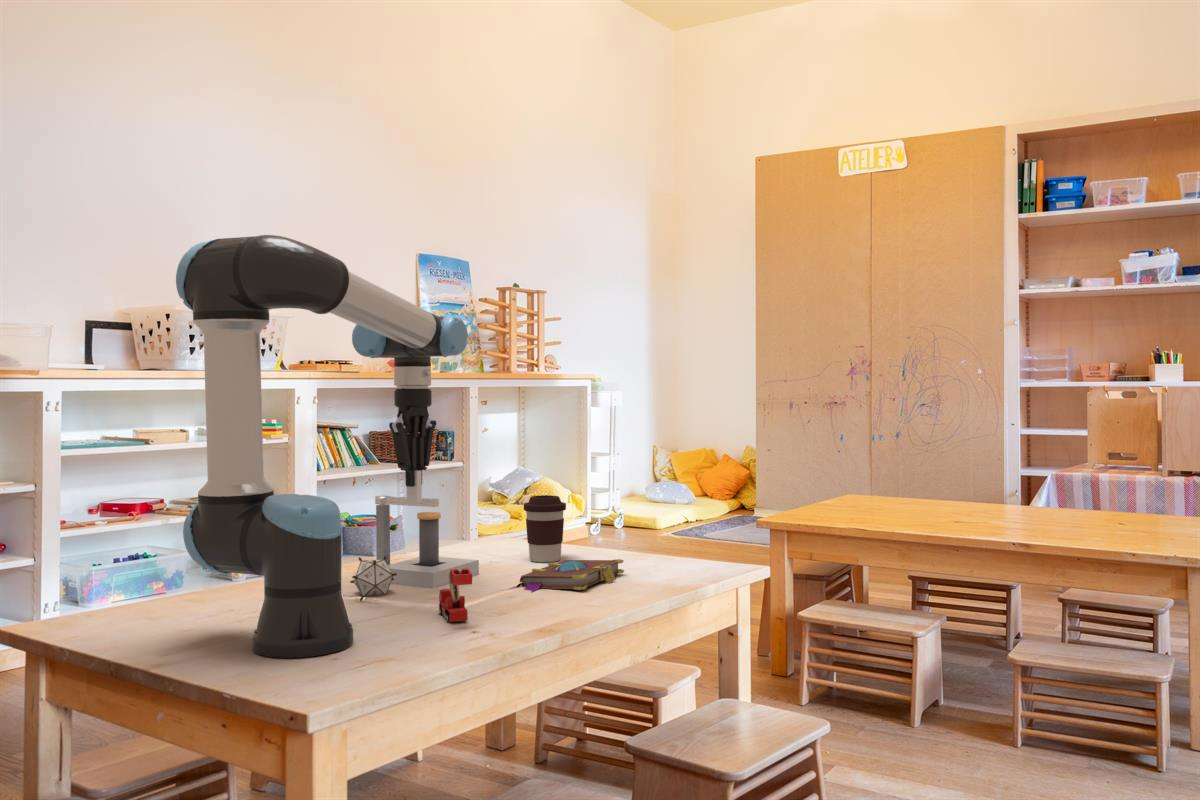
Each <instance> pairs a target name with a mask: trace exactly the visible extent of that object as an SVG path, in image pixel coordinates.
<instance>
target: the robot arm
mask: <svg viewBox="0 0 1200 800" xmlns="http://www.w3.org/2000/svg"><path fill="white" fill-rule="evenodd" d="M347 266H348V265H346V264H345V262H344V261H343V260H340V259H339V258H338V257H337V258H336V257H334V256H333V255H331V254H329V253H327V252H325V251H323V250H321V249H318V248H316V247H313V246H312V245H309V244H306V243H303V242H301V241H299V240H295V239H292V238H289V237H287V236H281V235H274V234H262V235H261V234H259V235H257V236H253V235H252V236H241V237H227V238H226V237H224V238H215V239H210V240H208V241H203V242H199V243H196V244H195V245H193V246H191V247H190V248H189V249H188V250H187V251H186V252H185V253H184V254H183V255H182V257H181V259H180V260H179V263H178V266H177V269H176V274H175V285H176V290H177V294H178V296H179V298H180V299H182V300H183V301H182V303H183V304H184V306H186V307H187V308H188V309H189V310H191V311H192V323H193V324H194V325H195V326H196V327H197V328H198V329H199V330H200V331H201V332H202V334H203V356H204V357H203V358H204V393H205V394H204V398H205V399H204V400H205V425H206V427H205V430H206V464H207V465H206V466H207V468H206V469H207V481H206V483H205V484H203V486H202V487H201V488H200V489H199V490H198V491H197V501H198V502H197V503H195V504H194V505H193V506H192V507H191V508H190V509H189V511H188V514H189V515H188V516H186V517H185V518H184V522H183V531H182V533H183V534H182V537H183V538H182V539H183V543H184V546H185V548H186V549H185V550H186V551H187V553H188V554H189V557H190V558H191V559H192V560H193V561H194V562H195V563H196V564H198V565H199V566H201V567H202V568H204V569H207V570H211V571H216V572H218V573H221V574H241V575H242V574H243V575H252V576H261V577H262V576H263V578H264V579H263V584H264V590H263V591H264V592H263V593H264V595H263V596H264V598H263V603H262V607H261V609H260V614H259V617H258V621H257V626H256V629H255V630H254V632H253V634H252V650H253V653H255V654H257V655H259V656H264V657H269V658H270V657H271V658H282V659H283V658H284V659H285V658H289V659H292V658H306V657H307V658H308V657H315V656H322V655H327V654H332V653H336V652H339V651H342V650H345V649H347V648H349V647H351V646H352V645H353V643H354V628H353V624H352V623H351V622H350V620H349V616H348V612H347V608H346V605H345V602H344V598H343V595H342V542H343V541H342V536H343V535H342V533H343V525H342V521H341V519H342V518H341V511H340V508H339V506H338V504H337V503H336V502H334V500H331V499H329V498H326V497H321V496H317V495H312V494H298V493H297V494H296V493H280V494H275V493H274V487H273V486H272V485H271V484H270V483H269V482H268V481H267V480H266V479H265V478H264V437H263V407H262V406H263V404H262V403H263V402H262V395H263V394H262V369H261V367H262V366H261V365H262V362H261V332H262V331H263V330H264V329H265V328H266V327H267V326H268V325H269V323H270V310H273V309H274V310H276V309H299V310H306V311H310V312H311V313H313V314H317V315H326V314H329V313H330V314H332V315H335V316H337V317H339V318H342V319H343V320H346V321H349V322H351V323H352V324H355V326H354V328H353V329H352V335H351V343H352V346H353V348H354V350H355V351H356V352H357V353H358V355H360V356H363V357H367V358H370V359H381V358H382V359H394V360H393V385H394V386H395V387H396V389H394V398H393V399H394V406H395V407H396V408H398V411H397V414H396V417H397V418H396V420H395V421H394V422H393V421H392V422H389V425H388V427H389V429H390V431H391V434H392V439H393V445H394V449H395V450H394V452H395V457H396V462H397V463H396V464H397V467H398V469H400V471H402V472H403V471H404V472H405V475H404V476H405V487H406V497H407V502H410V503H419V502H422V498H423V497H422V495H423V493H422V492H423V491H422V490H423V489H422V485H423V471H426V470H427V469H428V467H429V466H430V460H431V453H432V447H433V440H434V439H433V438H434V433H435V428H436V426H437V421H436V420H432V419H430V417H429V416H430V413H429V410H428V407H431V406H432V401H433V399H432V389H431V388H429V387H431V385H432V362H431V361H432V360H431V359H432V358H433V357H436V358H437V357H438V358H439V357H441V358H447V357H451V356H452V357H453V356H455V357H456V356H459V355H460V354H462V353H463V352H464V351H465V349H466V348H467V344H468V337H469V336H468V335H469V333H468V329H467V326H466V324H465V322H464V321H463V319H461V318H460V317H458V316H450V315H445V316H439V315H436V314H435V313H432V312H430V311H428V310H426V309H423V308H422V307H420V306H418V305H416V304H415V303H412V302H410V301H408V300H406V299H404V298H402V297H400V296H398V295H396V294H394V293H392V292H390V291H389V290H386V289H385V288H383V287H380V286H378V285H376V284H374V283H372V282H370V281H368V280H367V279H364V278H362V276H358V275H357V274H354V273H353V272H351V271H349V269H348V267H347ZM431 357H432V358H431Z"/></svg>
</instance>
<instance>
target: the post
mask: <svg viewBox="0 0 1200 800" xmlns="http://www.w3.org/2000/svg"><path fill="white" fill-rule="evenodd" d="M390 505H391V504H375V517H376V518H375V523H376V525H375V526H376V527H375V530H376V531H375V533H376V534H375V535H376V537H375V538H376V539H375V541H376V560H378V559H384V556H386V559H385V561H386V563H387V565H389V564H391V529H390V528H391V522H390V521H391V518H390V517H391V516H390V514H391V510H390V509H391V508H390V507H391V506H390Z"/></svg>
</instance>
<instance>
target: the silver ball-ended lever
mask: <svg viewBox="0 0 1200 800" xmlns="http://www.w3.org/2000/svg"><path fill="white" fill-rule="evenodd" d="M374 504H375V505H380V504H388V505H393V506H394V505H395V506H414V507H426V508H427V507H429V508H435V507H439V505H440V499H439V498H426V497H422V502H419V503H410V502H407V496H391V495H375V496H374Z"/></svg>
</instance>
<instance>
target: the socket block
mask: <svg viewBox="0 0 1200 800" xmlns="http://www.w3.org/2000/svg"><path fill="white" fill-rule="evenodd" d="M388 566H389V568H390V570H391V571H392V573H393V574H394V573H396V574H397V575H396V576H393V578H394V580H393V581H391V583H390V585H398V586H399V585H400V586H401V585H402V586H409V587H420V588H428V589H429V588H430V589H435V588H438V587H442V586H446V585H448V584H449V579H448V576H449V572H450V569H466V568H469V569H470V571H471V573H472V577H475V576H477V575H480V567H479V566H480V563H479V559H470V558H469V559H468V558H459V557H448V556H447V557H446V556H439V565H437V566H433V567H429V566H419V556H418V557H415V558H414V557H413V558H411V559H410V558H409V559H406V560H402V561H397V562H394V563H390V564H389V565H388Z"/></svg>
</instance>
